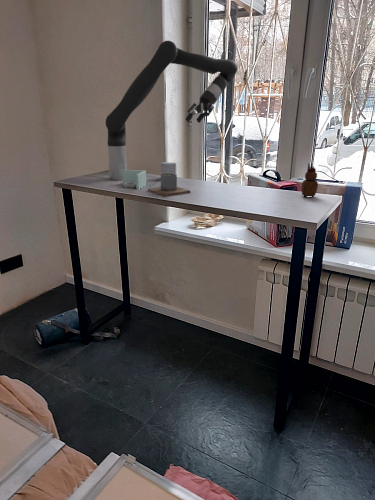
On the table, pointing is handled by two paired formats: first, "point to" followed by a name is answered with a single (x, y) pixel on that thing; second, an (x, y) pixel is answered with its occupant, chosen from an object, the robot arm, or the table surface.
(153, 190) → the post stand
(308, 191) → the wooden figurine
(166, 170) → the medicine box
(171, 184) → the collar
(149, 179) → the table surface
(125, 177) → the l-shaped corner panel
